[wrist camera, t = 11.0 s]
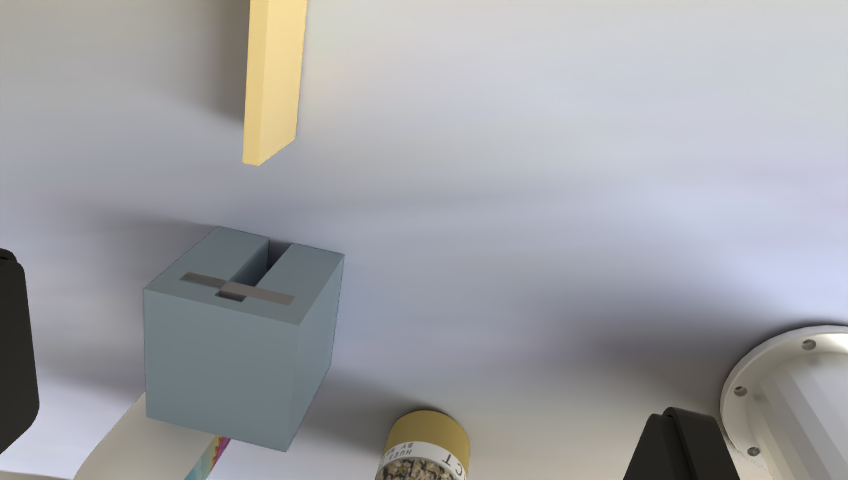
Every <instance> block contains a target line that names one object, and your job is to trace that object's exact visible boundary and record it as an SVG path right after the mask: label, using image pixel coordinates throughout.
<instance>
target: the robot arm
mask: <svg viewBox="0 0 848 480" xmlns="http://www.w3.org/2000/svg"><path fill="white" fill-rule="evenodd" d="M38 410H39V395H38V386H37V378H36V369H35V360H34V351H33V343H32V334H31V325H30V316H29V307H28V299H27V290H26V281H25V273H24V269H23V267H22V266H21V264H19V263H17V260H16V257H15V256H14V254H13V253H12V252H10V251H8V250H6V249H1V248H0V454H1V453H2V452H3V451H5V450H6V449H7V448H8V447H9V446H10V445H11V444H12V443H13V442H14V441H15V440H16V439H18V438H19V437H20V436H21V435H22V434H23V433H24V432H25V431H26V430H27V429H28V428H29V427H30V426H31V425H32V423H33V422H34V420H35V418H36V416H37V414H38ZM720 413H721V417H722V422H723V425H724V427H725V430H726V432H727V434H728V437H729V439H730V440H731V441H732V443H733V444H734V446H735V447H736V449H737V450H738V451H739V452H740V453H741V454H742V455H743V456H744V457H745V458H747V459H748V460H750V461H751V462H753V463H755V464H756V465H758V466H759V467H761V468H764V469H766V470H769V471H770V474H771V476H772V478H773V480H848V327H846V326H831V325H823V326H812V327H805V328H800V329H796V330H792V331H788V332H785V333H783V334H780V335H778V336H775V337H773V338H770V339H769V340H767V341H765V342H764V343H762V344H760V345H759V346H757V347H755V348H754V349H753V350H751V351H750V352H749V353H748V354H747V355H745V356H744V357H743V358H742V359H741V360H740V361H739V362H738V363H737V365H736V366H735V367H734V368H733V370H732V371H731V372H730V374H729V376H728V378H727V380H726V382H725V384H724V386H723V390H722V394H721V397H720ZM623 480H740V478H739V476H738V473H737V471H736V468H735V466H734V463H733V461H732V458H731V456H730V454H729V451H728V449H727V446H726V444H725V441H724V439H723V436H722V434H721V431H720V429H719V426H718V424H717V422H716V420H715V419H714V418H713V417H711V416H709V415H705V414H700V413H696V412H692V411H688V410H684V409H679V408H675V407H668V408H667V409H666V410H665V411H664V413H663V414H662V415H659V414H651V416H650V417H649V418H648V420H647V422H646V425H645V427H644V430H643V432H642V435H641V437H640V439H639V442H638V444H637V447H636V449H635V452H634V454H633V456H632V459H631V461H630V464H629V466H628V469H627V471H626V474H625V476H624V478H623Z"/></svg>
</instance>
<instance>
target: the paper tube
mask: <svg viewBox="0 0 848 480" xmlns="http://www.w3.org/2000/svg"><path fill="white" fill-rule="evenodd" d="M469 456H470V443H469V439H468V437H467V435H466V433H465V431H464V430H463V428H462V427H461V426H460V425H459V424H458V423H457V422H456V421H455V420H453V419H452V418H450V417H449V416H447V415H445V414H442V413H439V412H436V411H429V410H421V411H415V412H411V413H409V414H406V415H404V416H403V417H401V418H400V419H398V420H397V421H396V422H395V423H394V425H393V426H392V428H391V430H390V432H389V436H388V439H387V442H386V445H385V449H384V452H383V455H382V459H381V461H380V464H379V467H378V471H377V474H376V477H375V480H466V479H467V472H468V464H469Z"/></svg>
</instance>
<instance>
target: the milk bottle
mask: <svg viewBox="0 0 848 480" xmlns="http://www.w3.org/2000/svg"><path fill="white" fill-rule="evenodd" d="M230 440H231V438H227V437H223V436H219V435H215V434H211V433H207V432H203V431H199V430H195V429H191V428H187V427H183V426H179V425H175V424H171V423H167V422H163V421H159V420H155V419H151V418H147V417H146V397H145V392H144V393H143V394H142V395H141V397H140V398H139V399H138V400H137V401H136V402H135V403H134V404H133V405H132V406H131V408H130V409H129V410H128V411H127V412H126V413H125V414H124V415H123V417H122V418H121V419H120V420H119V421H118V422H117V423H116V424H115V426H114V427H113V428H112V429H111V430H110V431H109V432H108V434H107V435H106V436H105V437H104V438H103V439H102V440H101V442H100V443H99V444H98V445H97V446H96V448H95V449H94V450H93V451H92V452H91V454H90V455H89V456H88V457H87V459H86V460H85V461H84V463H83V464H82V466H81V467H80V469H79V470H78V472H77V473H76V475H75V477H74V479H73V480H205V479H206V478H207V476H208V475H209V473H210V472H211V470H212V469H213V467H214V465H215V464H216V462H217V461H218V459H219V458H220V456H221V454H222V453H223V451H224V450H225V448H226V447H227V445H228V443H229V442H230Z"/></svg>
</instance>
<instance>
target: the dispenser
mask: <svg viewBox="0 0 848 480" xmlns="http://www.w3.org/2000/svg"><path fill="white" fill-rule="evenodd" d="M268 248H269V238H268V237H264V236H259V235H255V234H251V233H246V232H242V231H237V230H233V229H228V228H224V227H220V226H218V227H216V228H215V229H214V230H213V231H212V232H210V233H209V234H208V235H207V236H206V237H204V238H203V239H202V240H201V241H200V242H198V243H197V244H196V245H195V246H194V247H192V248H191V249H190V250H189V251H188V252H186V253H185V254H184V255H183V256H182V257H180V258H179V259H178V260H177V261H176V262H174V263H173V264H172V265H171V266H170V267H168V268H167V269H166V270H165V271H164V272H162V273H161V274H160V275H159V276H158V277H156V278H155V279H154V280H153V281H152V282H150V283H149V284H148V285H147V286H146V287H145V288H143V310H144V353H145V397H146V417H147V418H151V419H155V420H159V421H163V422H167V423H171V424H175V425H179V426H183V427H187V428H191V429H195V430H199V431H203V432H207V433H211V434H215V435H219V436H223V437H227V438H231V439H235V440H239V441H243V442H247V443H251V444H255V445H259V446H262V447H266V448H270V449H274V450H278V451H282V452H287V450H288V448H289V446H290V444H291V442H292V440H293V438H294V436H295V434H296V432H297V430H298V428H299V426H300V424H301V422H302V420H303V418H304V416H305V414H306V412H307V410H308V408H309V406H310V404H311V402H312V400H313V398H314V396H315V394H316V392H317V390H318V388H319V386H320V384H321V382H322V380H323V378H324V376H325V374H326V372H327V370H328V368H329V366H330V363H331V356H332V348H333V341H334V333H335V325H336V318H337V310H338V302H339V295H340V287H341V279H342V272H343V264H344V256H345V255H343V254H339V253H334V252H330V251H325V250H321V249H317V248H312V247H308V246H303V245H299V244H295V243H292V244H291V245H290V247H289V248H288V249H287V250H286V251H285V252H284V254H283V255H282V256H281V257H280V258H279V259H278V261H277V262H276V263H275V264H274V265H273V266H272V268H271V269H270V270H269V271H268V272H267V262H268Z"/></svg>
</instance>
